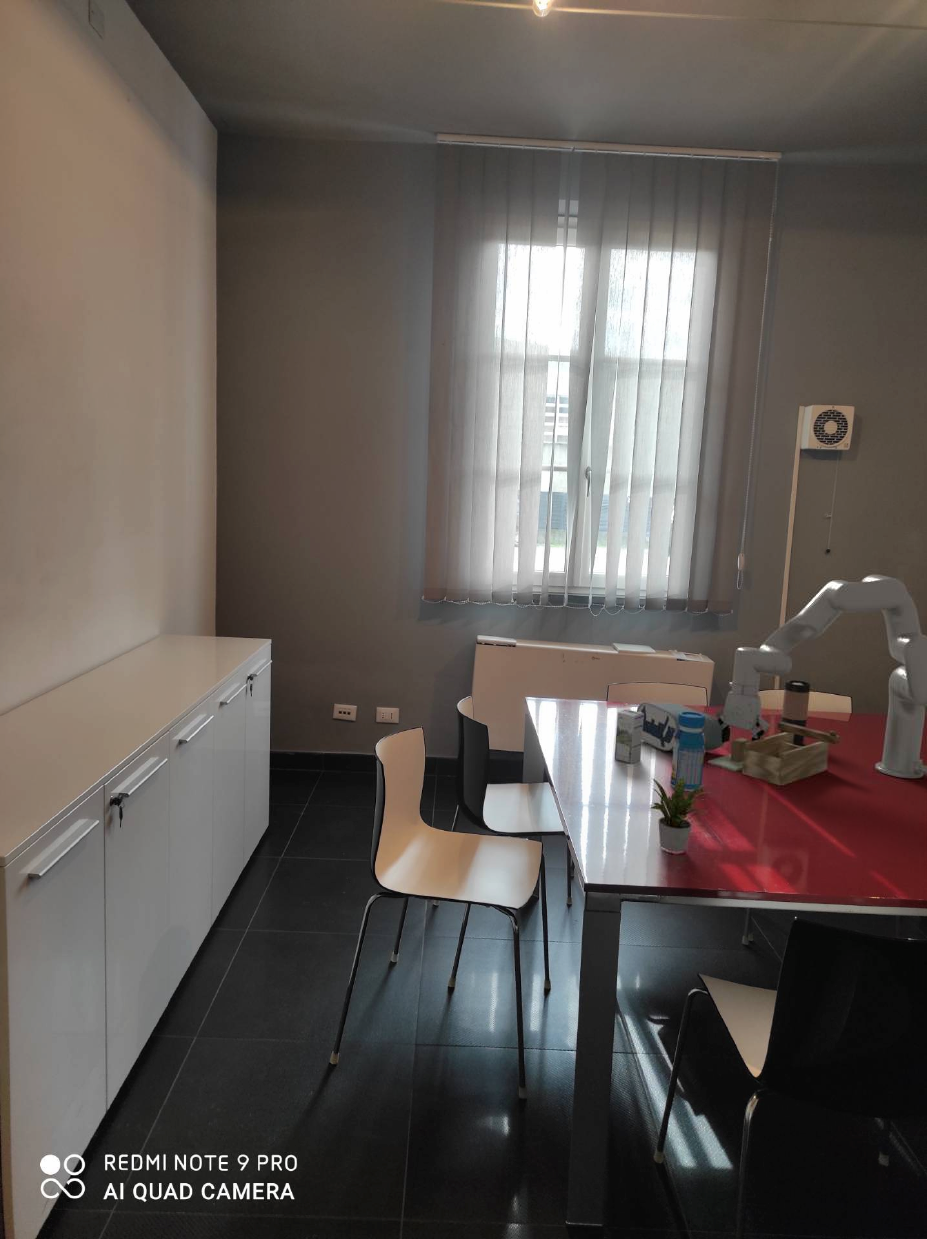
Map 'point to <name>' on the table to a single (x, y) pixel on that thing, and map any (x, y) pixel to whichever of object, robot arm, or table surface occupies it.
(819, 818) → the table surface
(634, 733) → the syrup box
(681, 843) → the house plant
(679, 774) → the beverage bottle
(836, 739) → the wooden bar
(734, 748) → the lid
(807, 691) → the travel mug
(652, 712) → the grey hat
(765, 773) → the toolbox
